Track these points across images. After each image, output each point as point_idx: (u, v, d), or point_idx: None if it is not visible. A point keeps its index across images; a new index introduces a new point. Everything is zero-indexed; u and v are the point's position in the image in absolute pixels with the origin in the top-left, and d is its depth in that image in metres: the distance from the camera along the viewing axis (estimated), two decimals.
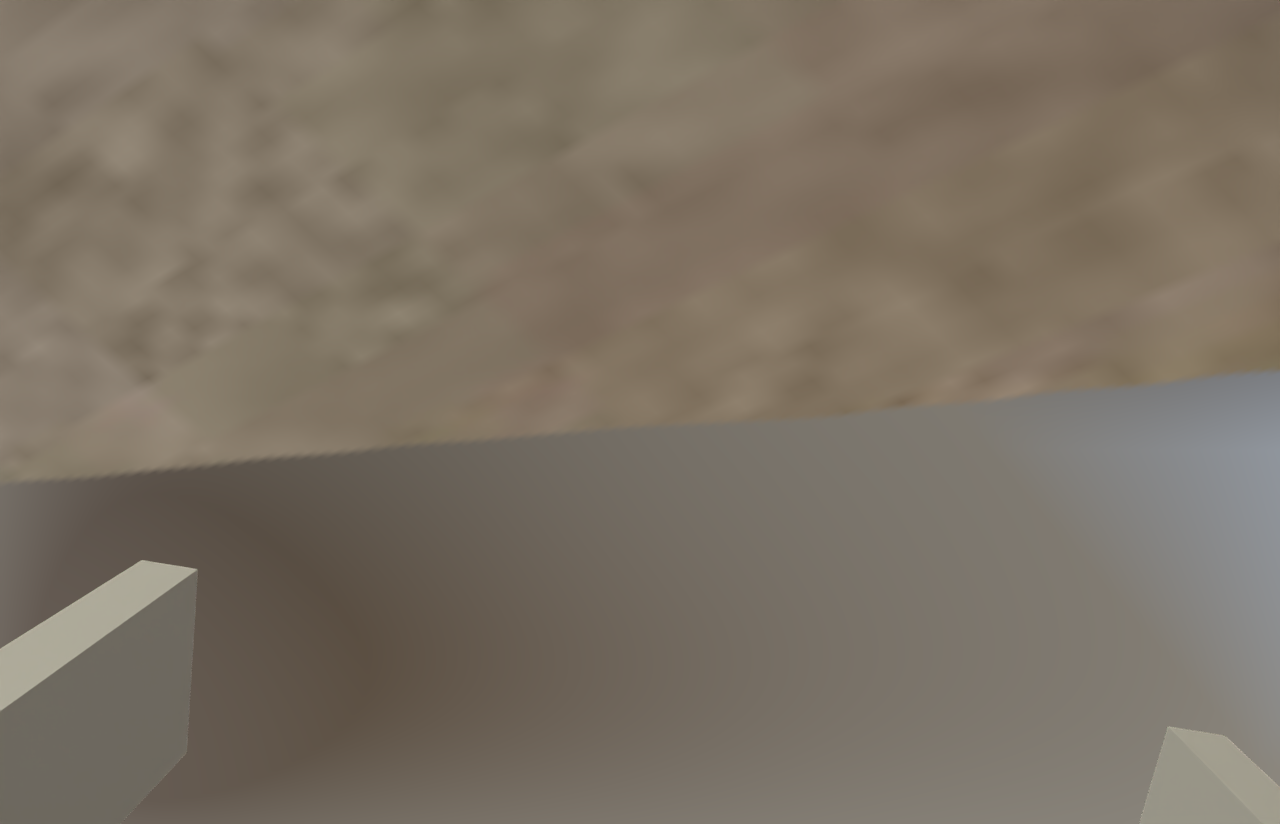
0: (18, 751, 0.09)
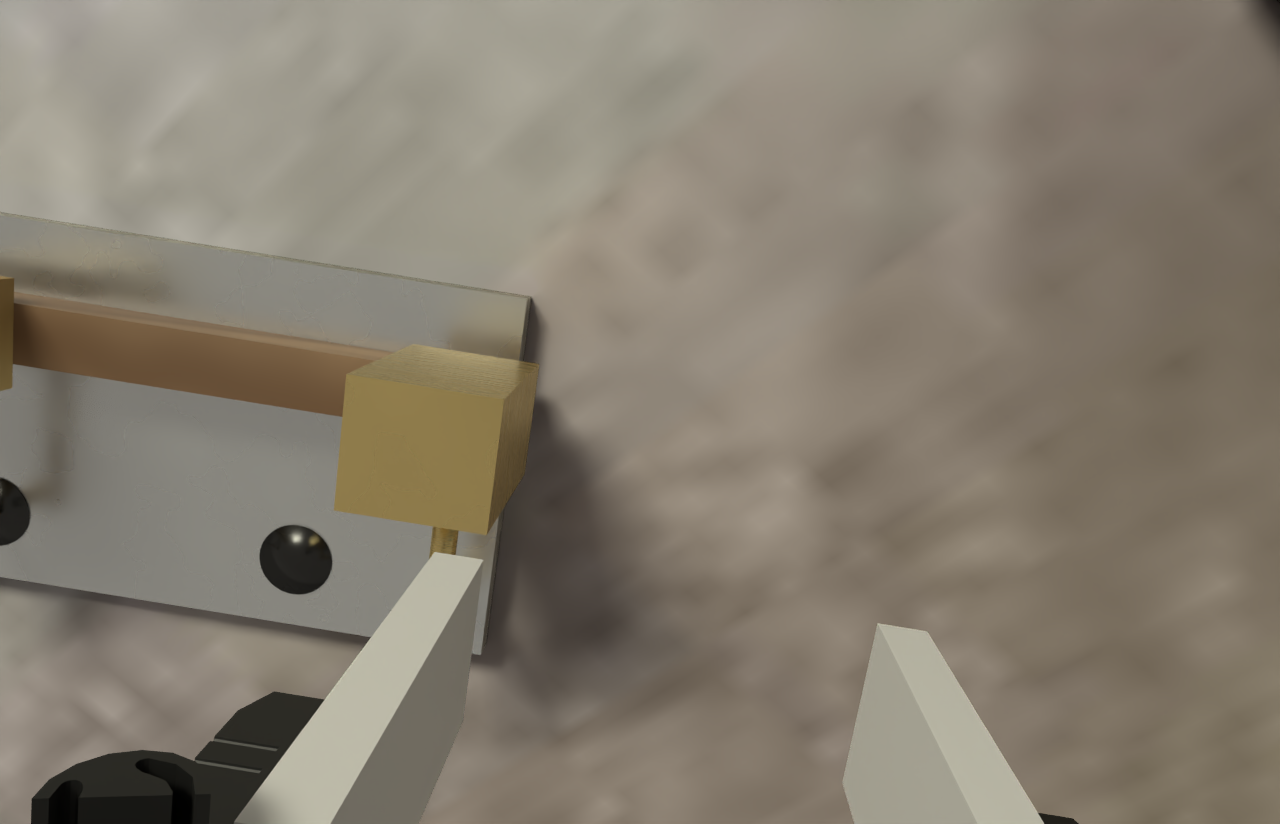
0: (418, 708, 0.11)
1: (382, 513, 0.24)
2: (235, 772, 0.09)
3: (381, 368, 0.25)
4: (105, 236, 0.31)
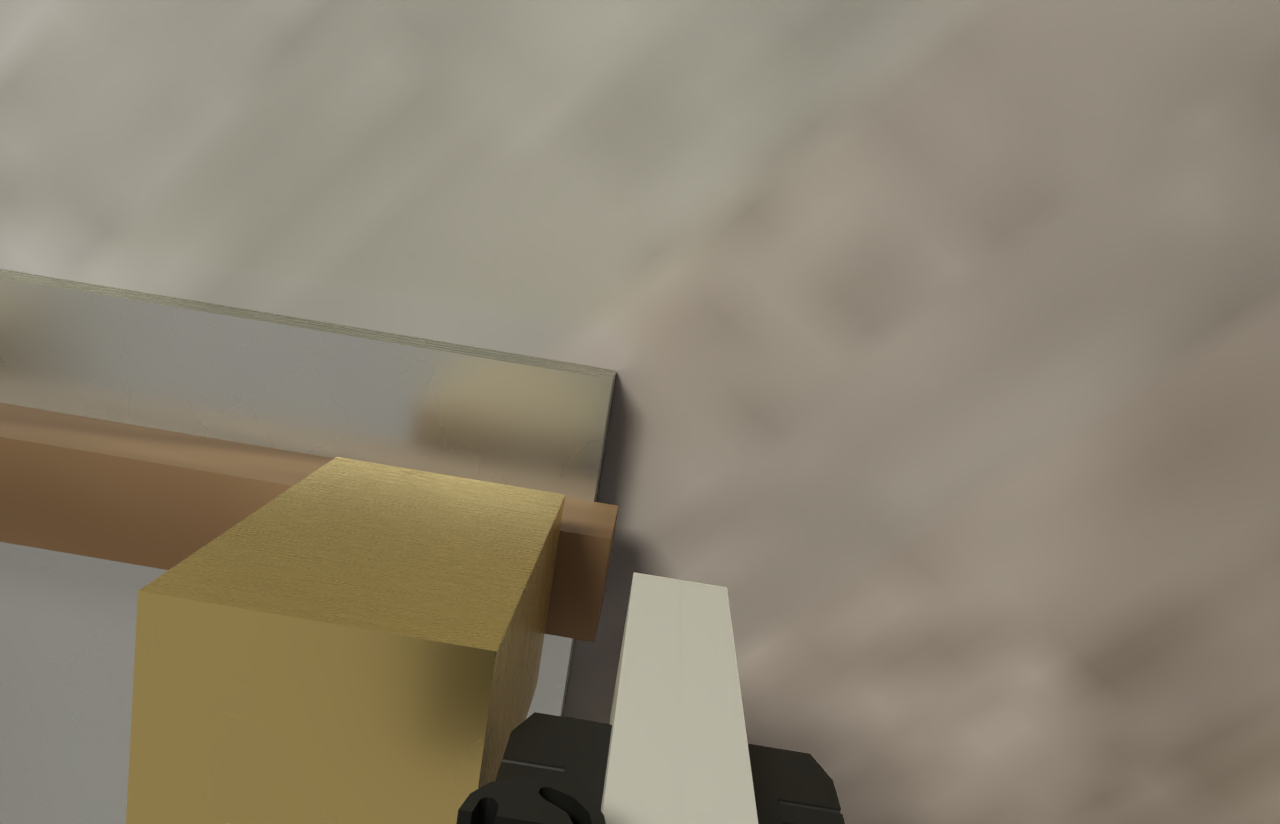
0: None
1: None
2: None
3: (238, 553, 0.12)
4: None
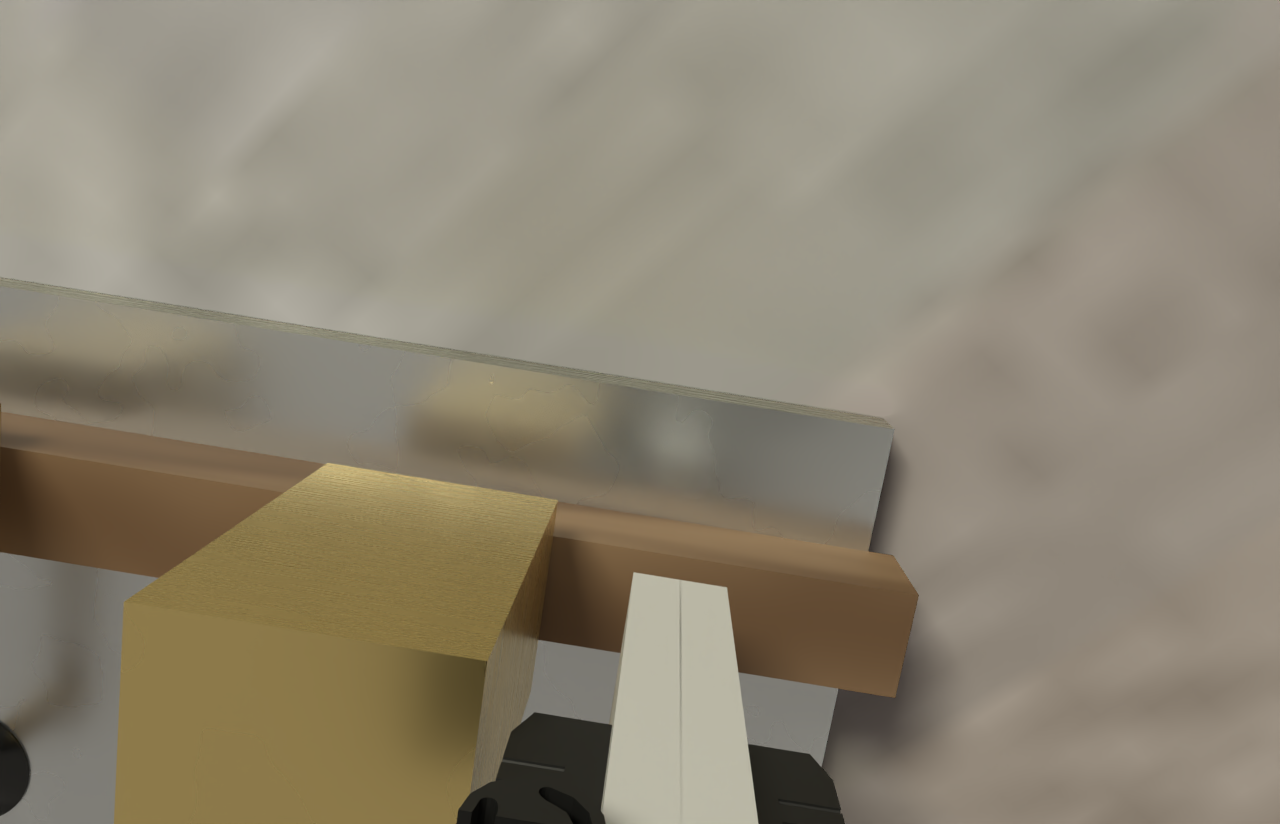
0: None
1: None
2: None
3: (226, 562, 0.12)
4: (160, 320, 0.18)
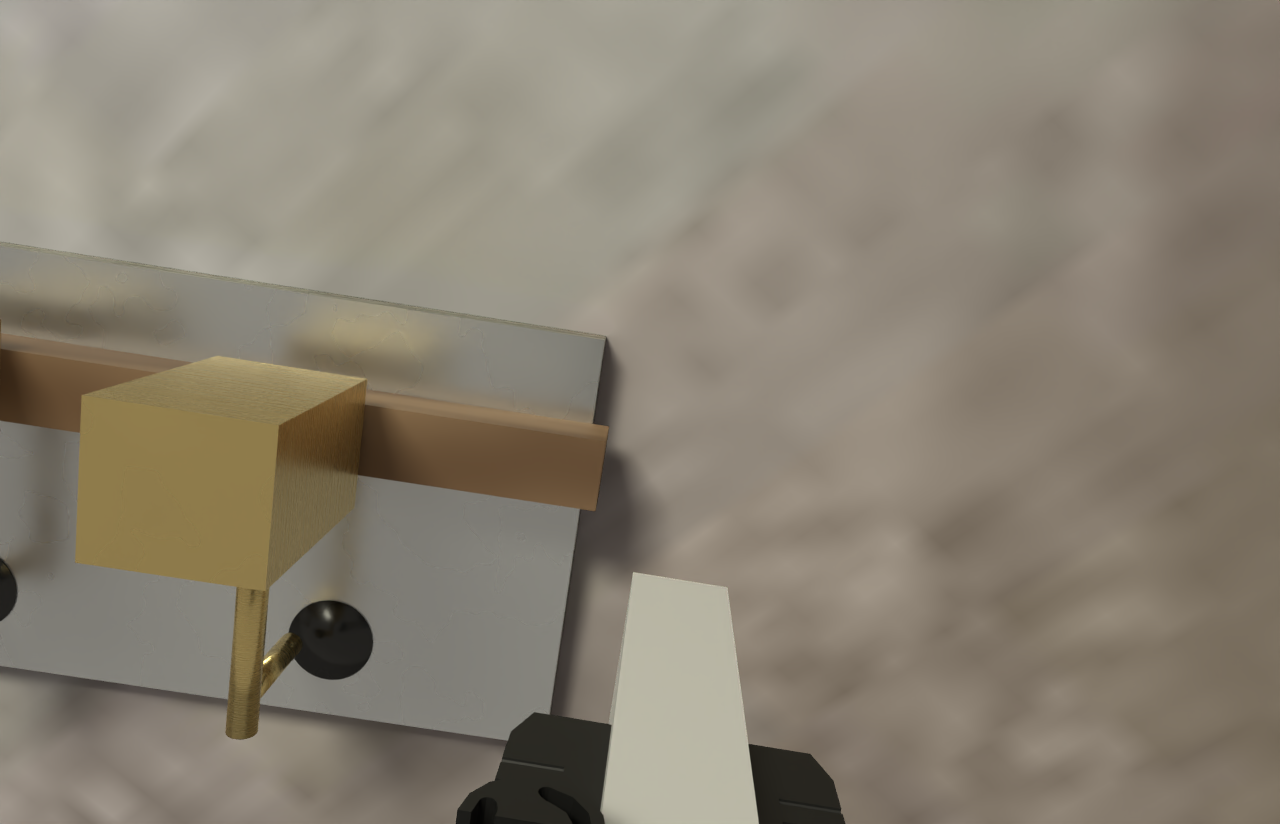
0: None
1: (135, 565, 0.20)
2: None
3: (141, 387, 0.20)
4: (108, 268, 0.27)
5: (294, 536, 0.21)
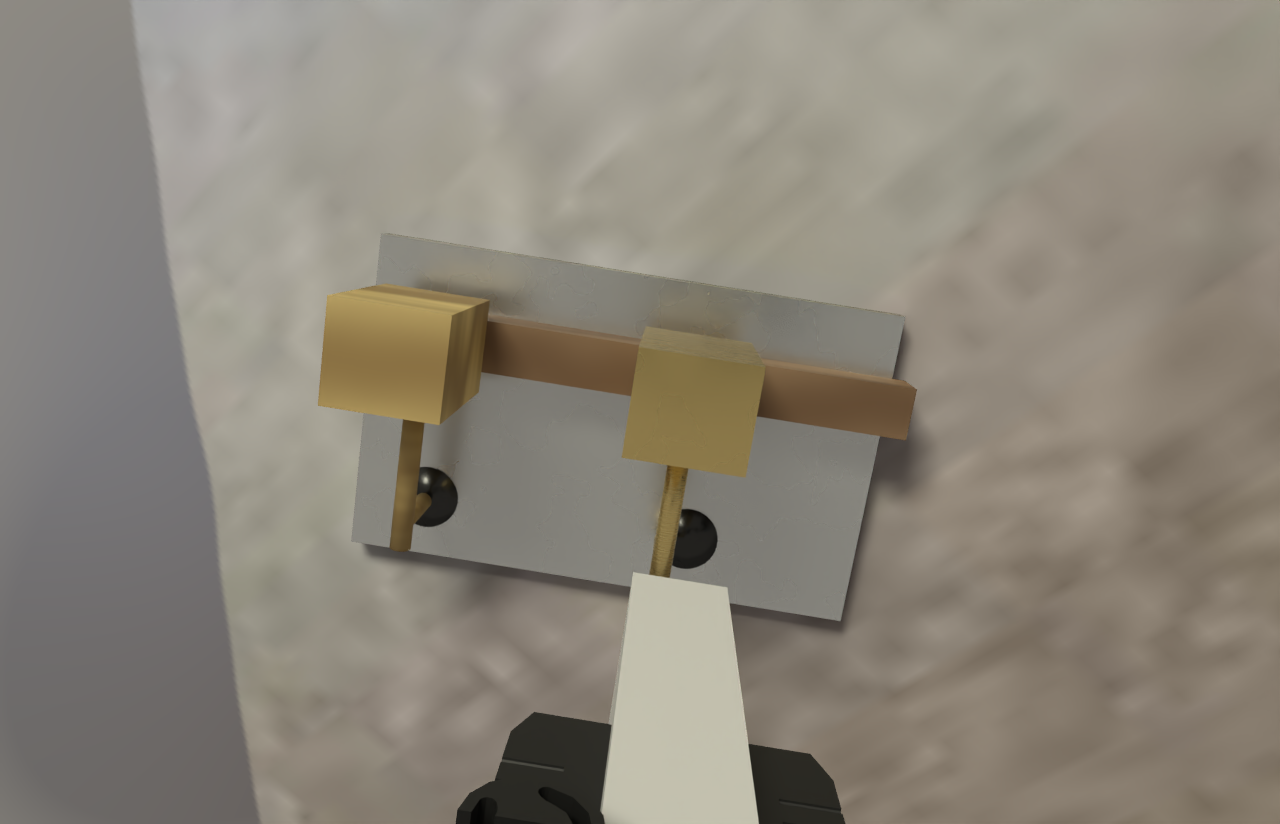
0: None
1: (661, 460, 0.30)
2: None
3: (654, 343, 0.30)
4: (546, 264, 0.37)
5: None
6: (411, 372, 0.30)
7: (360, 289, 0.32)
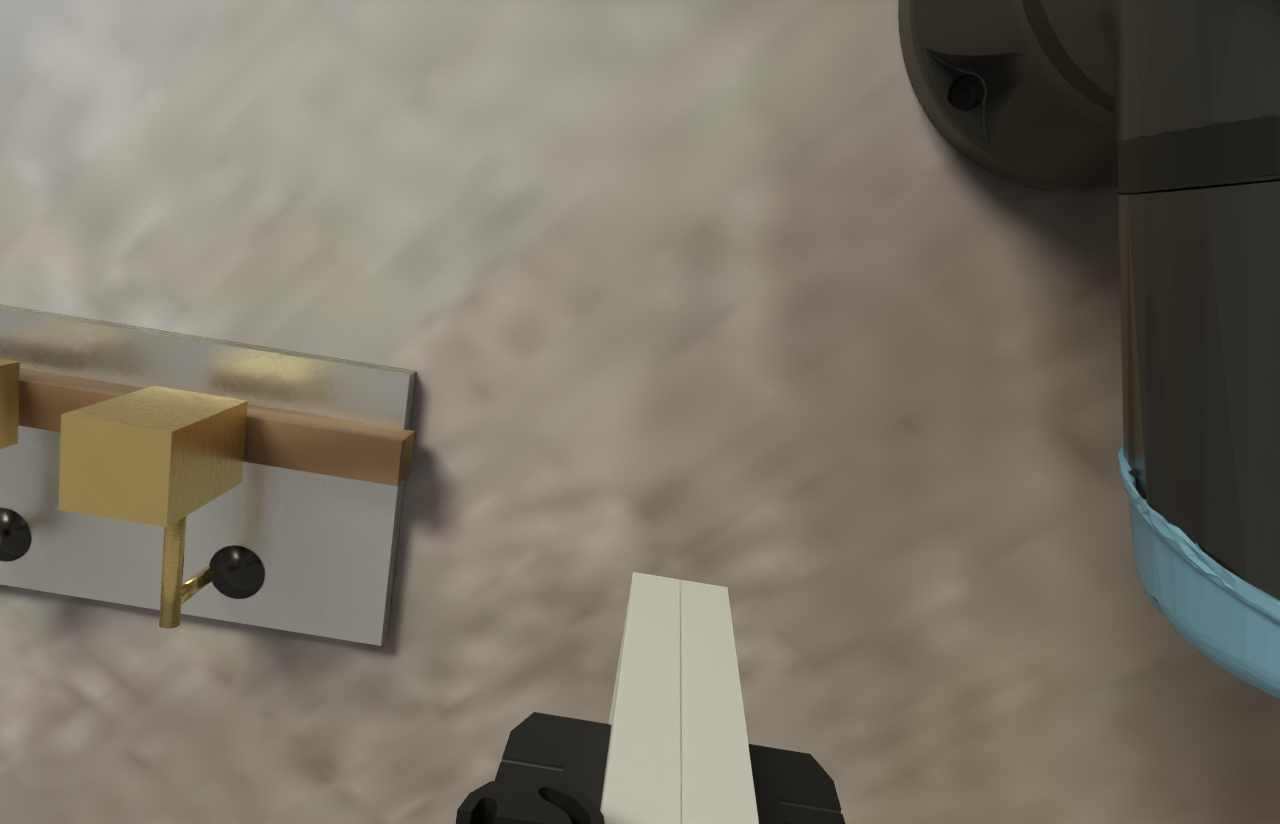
0: None
1: (92, 512, 0.34)
2: None
3: (97, 408, 0.35)
4: (88, 326, 0.41)
5: (188, 497, 0.35)
6: None
7: None
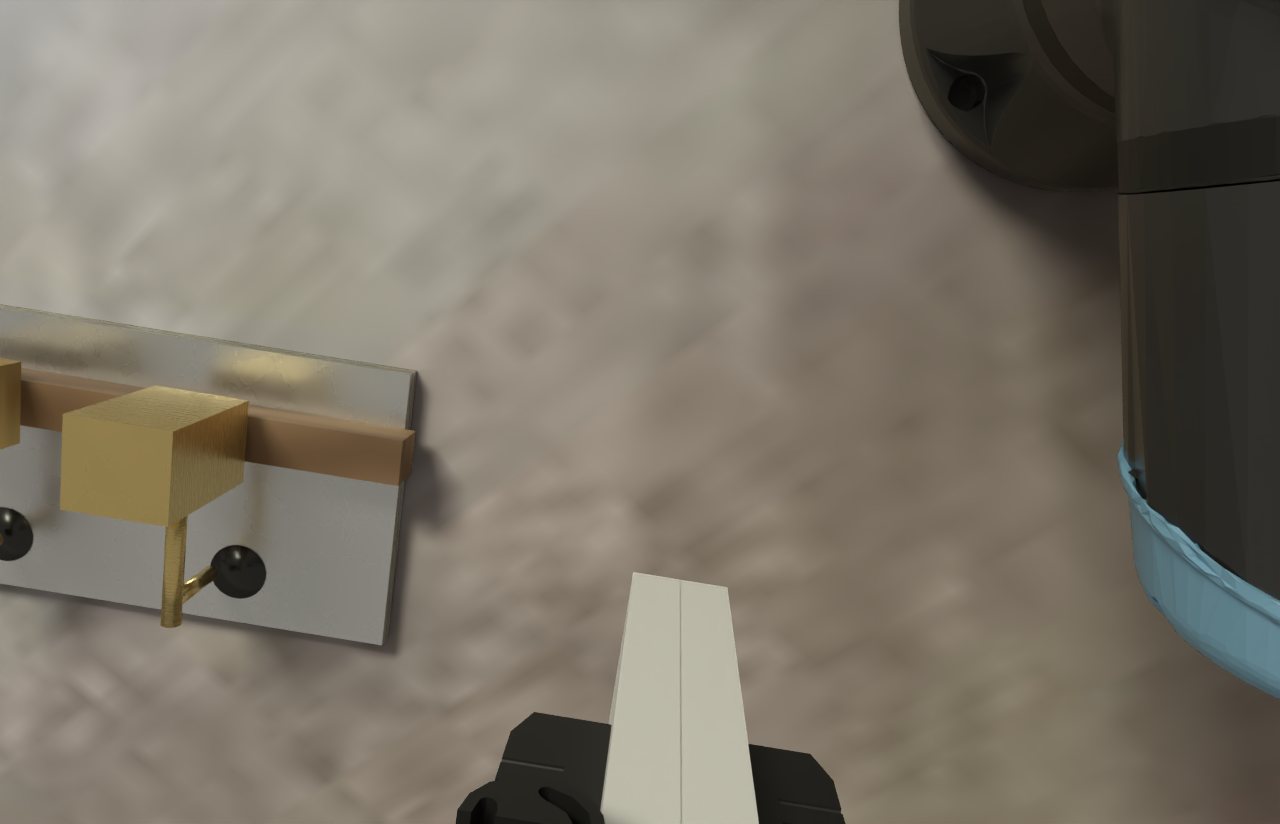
0: None
1: (94, 511, 0.34)
2: None
3: (99, 408, 0.35)
4: (90, 326, 0.41)
5: (189, 496, 0.35)
6: None
7: None
